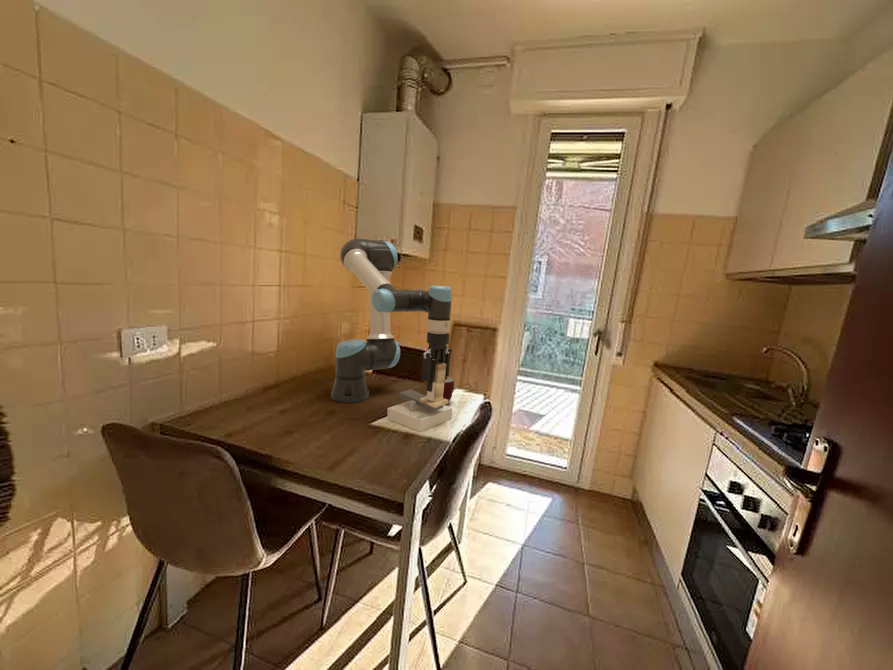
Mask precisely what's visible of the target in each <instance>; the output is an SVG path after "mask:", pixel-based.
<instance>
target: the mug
mask: <svg viewBox="0 0 893 670" xmlns="http://www.w3.org/2000/svg"><path fill="white" fill-rule="evenodd" d="M446 377H447V379H446V380H445V382H444V391H443V398H445V399H447V400H449V401H448V404H449V402H450V400H452V396H453V392H454V388H455V379H454V378H452V377H449V376H446ZM448 404H445V406H448Z"/></svg>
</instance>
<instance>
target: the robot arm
mask: <svg viewBox="0 0 893 670" xmlns="http://www.w3.org/2000/svg"><path fill="white" fill-rule="evenodd" d="M339 255H340V256H339V257H340V262H341V263H342V266H343V267H344V268H345V269H346V270H347V271H349V272H351V273H353V274H354V275H355V277H356V278H357V279H358V280H359V282H361V284H362V285H363V286H364V287H365V288H366V289H367V291H368V305H369V306H368V309H369V310H368V311H369V332H370V333H369V335H368V336H367V337H366V340H364V339H359V338H358V339H357V338H355V339H347V340H343V341H340V342H339V343H337V345H336V348H335V355H334V356H335V380H334V383H333V386H332V389H331V392H330V398H331V400H333V401H334V402H338V403H344V404H345V403H349V404H350V403H359V402H362V401H366V400H368V399H369V398H370V397H369V396H370V391H369V389H368V388H369V387H368V384H367V380H366V371H373V370H374V371H375V370H382V369H384V370H386V369H390V368H393V367H395V366H396V365H397V363H398V362H399V360H400V357H401V347H400V345H399V342H398V341H396V340H395V336H394V335H393V334H392V333H391V313H403V312H407V313H408V312H410V313H411V312H412V313H414V312H424V313H427V325H426V326H427V328H426V329H427V331H428V332H427V333H426V343H427V344H428V348H427V350H426V351H425V352H424V351H423V352H422V353H421V358H422V381H423V382H424V381H425V382H426V395H427V400H430V401H434V396H435V382H433V381H434V376H435V370H436V364H437V363H438V362H441V363H445V364H446V372H445V380H446V379H447V377H449V376H450V365H451V364H450V362H451V355H452V353H453V352H452V348H448V344H449V343H450V333H449V332H450V330H451V329H450V326H451V312H452V300H453V298H452V288H451V287H450V286H446V285H431V286H429V289H428V290H425V289H421V288H420V289H418V288H417V289H400V288H399V289H397V288H396V287H395V286H394V285H393V284H392V283H391V282H390V277H391V275H392V274H393V270H394V269H395V268H396V267H397V264H398V259H399V258H398V252H397V249H396V247H395V245H393V243H391V242H389V241H385V240H376V239H367V238H353V239H350V240H348V241H347V242H345V243H344V244H343V246H342V247H341V249H340V254H339ZM430 378H431V379H430Z"/></svg>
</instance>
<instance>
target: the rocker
mask: <svg viewBox="0 0 893 670" xmlns="http://www.w3.org/2000/svg"><path fill="white" fill-rule="evenodd" d="M398 397H399V398H401V399H404V400H405V401H406V402H408V401H411V400H413V401H416V405H418V406H420V407H423V408H425V409H427V410H429V411H431V412H433V411H436V410H438V409H441V408H443V405H442V406H440V407H437V408H434V407H432V406H429V405H427V404H424V403H422V402H420V398H423V397H426V395H425V394H422V393H421V392H418V391H416V390H414V389H412V388H411V389H407V390H403V391H400V392H399V393H398Z"/></svg>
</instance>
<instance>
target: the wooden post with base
mask: <svg viewBox="0 0 893 670" xmlns="http://www.w3.org/2000/svg"><path fill="white" fill-rule="evenodd" d="M445 373H446V364H445V363H441V362H438V363H437V364H436V370H435V376H434V381H433V382H435V396H434V401H430V400H427V396H426V395H425V396H426V397H423V398H420V402H422V403H424V404H427V405H429V406H432V407H434V408H437V407H440V406H442V405H445V404H447V405H448V404H449V403H448V401H449V400H447V399H445V398H443V391H444V382H445ZM430 379H431V378H430ZM449 402H450V401H449ZM445 406H446V405H445Z"/></svg>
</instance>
